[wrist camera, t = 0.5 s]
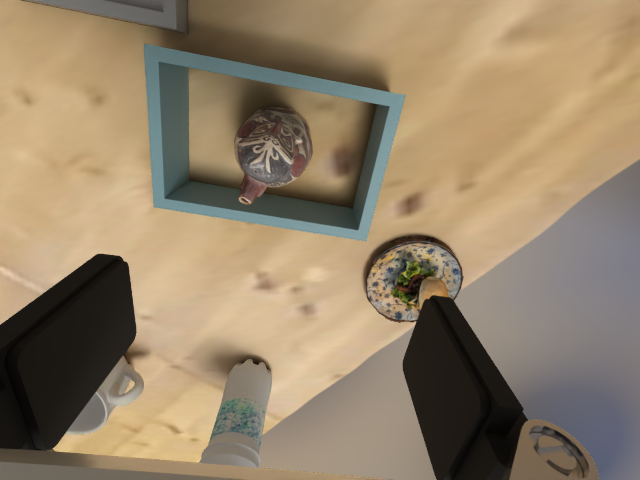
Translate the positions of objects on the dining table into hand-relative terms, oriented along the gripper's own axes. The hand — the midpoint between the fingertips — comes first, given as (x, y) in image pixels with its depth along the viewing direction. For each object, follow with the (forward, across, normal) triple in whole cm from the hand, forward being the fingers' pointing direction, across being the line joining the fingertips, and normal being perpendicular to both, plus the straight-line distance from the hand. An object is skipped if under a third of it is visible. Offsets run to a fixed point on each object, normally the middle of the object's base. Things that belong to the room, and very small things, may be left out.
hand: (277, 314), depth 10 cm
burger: (+26, -15, +13) cm, 33 cm away
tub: (+25, +3, -1) cm, 25 cm away
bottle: (+26, +4, +32) cm, 41 cm away
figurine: (+26, +3, -1) cm, 26 cm away
